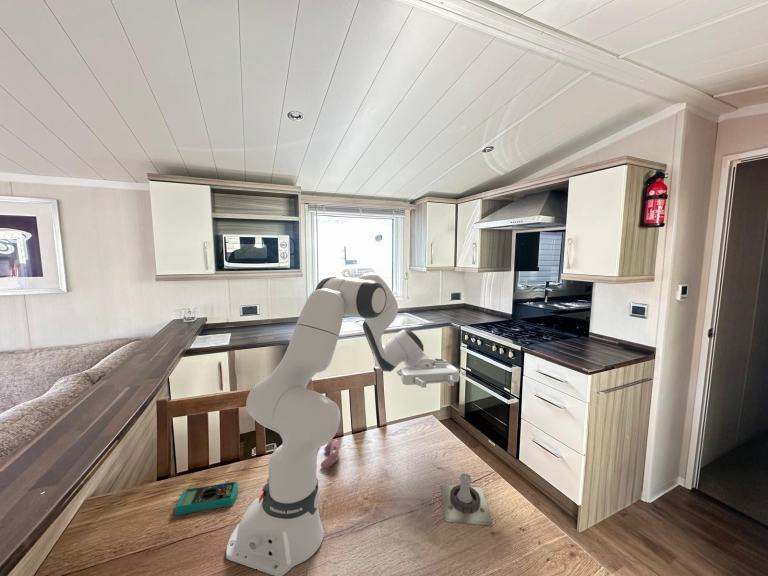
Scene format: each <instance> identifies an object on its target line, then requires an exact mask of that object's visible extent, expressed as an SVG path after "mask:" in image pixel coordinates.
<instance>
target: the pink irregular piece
mask: <svg viewBox="0 0 768 576" xmlns="http://www.w3.org/2000/svg"><path fill="white" fill-rule="evenodd" d="M340 446H341V440H339V439H332V441H330V442H329V443H327V444H326V446H325V447H324V452H325V453H329V455H328V456H327V458H325V459H324V460H322V462H321V463H320V467H321V469H327V468H330V466H332V465H333V464H335V463H336V461H337V460H338V461H339V458H340V455H339V449H340Z"/></svg>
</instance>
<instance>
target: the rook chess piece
mask: <svg viewBox="0 0 768 576" xmlns="http://www.w3.org/2000/svg"><path fill="white" fill-rule="evenodd" d="M459 480H460V482H459V483H460V484H459V485H461V487H460V491H459V492H458V494H457V498H456V499H457V500H458V501H460V502H462V503H464V504H472V496H471V494H470V487H471V483H472V478H471V475H470V474H469V473H467V472H466V473H465V472H462V473H461V475H460V476H459Z"/></svg>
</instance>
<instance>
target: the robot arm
mask: <svg viewBox="0 0 768 576" xmlns="http://www.w3.org/2000/svg"><path fill="white" fill-rule="evenodd" d="M398 311H399V304H398V301H397V299H396V297H395V295H394V293H393V292H392V290H391V288H390V287H389V285H388V283H387V282H386V281H385V280H384V279H383V278H382V277H381V276H379V275H378V274H377V273H374V272H367V273H363V274H362V275H360V276H358V278H355V277H349V276H347V277H346V276H343V277H341V276H340V277H336V276H331V277H326V278H323V279H322V280H320V281H319V283H318V284H317V285H316V287H315V290H313V291H312V292H311V293H310V295H309V296H308V298H307V299H306V301H305V304H304V305H303V307H302V310H301V311H300V314H299V316H298V318H297V322H296V324H295V327H294V330H293V333H292V336H291V338H290V341H289V343H288V345H287V349H286V351H285V353H284V354H283V357H282V359H281V360H280V362H279V363H278V365H277V366H276V368H275V369H274V370H273V371H272V372H271V373H270V374H269V375H268V376H266V378H264V379H262V380H261V381H259V382H257V383H256V384H255V385H254V386H253V387H252V388H251V389H250V391H249V393H248V395H247V397H246V401H245V402H246V403H245V407H246V411H247V413H248V414H249V416H251V418H253V420H255V422H257V423H258V424H259V425H261V426H262V427H265V428H267V429H269V430H270V431H271V430H272V431H274V432H275V433H276V434H279V436H280V438H281V440H282V444H280V445H279V446H278V447H277V448H275V450H274V451H273V452H272V453H271V455H270V457H269V460H268V464H267V466H268V477H267V479H266V482H267V483H266V484H265V485H264V486H263V487H262V490H261V493H260V494H259V496H258V497H257V498H256V499H254V500H253V501H252V503H250V505H249V506H248V508H247V509H246V510H245V511H244V513H243V515H242V517H241V519H240V522H238V524H237V525H236V526H235V528H234V530H233V532H231V535H230V538H229V539H228V542H227V545H226V552H225V557H226V559H227V560H229V561H231V562H234V563H237V564H240V565H243V566H245V567H248V568H251V569H254V570H256V569H257V571H259V572H263V573H266V574H268V575H270V576H271V575H272V576H273V575H274V576H284V575H285V574H288V572H289V571H290V570H291V569H292V568H294V567H295V566H297V565H299V564H301V563H303V562H305V561H308V560H309V559H310V558H311V557H312V556H313V555H314V554H315V553H316V552H317V550H318V549H319V548H320V546H321V545H322V543H323V539H324V536H325V535H324V530H325V529H324V527H323V524H322V521H321V517H320V512H319V500H320V493H319V492H320V490H319V481H318V477H317V469H318V468H317V467H318V466H317V465H318V464H317V463H318V453H319V452H320V449H321V447H323V446H325V445H326V446H327V445H328V444H329V443H330V442H332V441H331V440H333V438H334V437H335V436H336V434H337V432H338V430H339V428H340V424H341V411H340V408H339V406H338V404H337V403H336V402H335V401H333V400H331V399H330V398H329V397H327V396H326V395H324V394H322V393H320V392H317V391H315V390H311V389H309V388H307V386H308V385H309V383H310V381H311V379H312V378H313V377H314V376H315V375H316V374H318V373H321V372H324V371H326V370H327V369H328V368H329V367H330V365H331V364H332V360H333V357H334V353H335V350H336V346H337V343H338V340H339V336H340V334H341V331H342V329H341V328H342V324H343V320H344V318H345V317H349V318H362V319H364V320H363V323H362V329H363V332H364V335H365V338H366V340H367V343H368V345H369V347H370V350H371V353H372V356H373V360H374V363H375V364H376V366H377V367H378V369H380V370H381V371H382V372H389V373H391V372H392V371H393V370H394V369H396V368H397V367H398V366H399V365H400V364H401V363H403V364H404V367H402V368H401V369H399V370H397V371H396V373H397V375H398V376H400V380H401V383H402V384H403V385H404V386H414V385H416V386H418V387H421V388H423V389H424V388H427V384H428V385H430V384H444V383H447V385H448V386H449V387H451V386H454V385H455V383H458V382H459V381H460V371H459V368H456V367H455V366H454V365H452V364H451V363H448V361H447V359H444V358H436V357H431V356H428V355H427V354H425V353H424V350H425V349H424V344H423V342H422V340H421V339H420V338H419V336H417V334H416V333H414V332H413V331H411V329H406V328H405V329H404V328H402V330H400V331H399V332H397V333H396V334H394V335H393V336H391V338H390V339H388V340H387V341H385V342H383V343H382V341H381V338H382V336H383V335H384V333H385V331H386V330H387V329H388V328H389V327H390V325H392V324H393V322H394V321H395V319H396V317H397V315H398Z"/></svg>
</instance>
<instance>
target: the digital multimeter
mask: <svg viewBox="0 0 768 576" xmlns="http://www.w3.org/2000/svg"><path fill="white" fill-rule="evenodd" d="M238 485H239V483H238V481H230V482H225V483H218V484H211V485H206V486H200V487H192V488H186V489H184V490H183V491H182V493H181V495H180V496H179V498H178V500H177V503H176V505H175V508H174V510H175V512H174V513H175V514H174V515H175V516H180V515H181V516H183V515H187V514H191V513H196V512H201V511H207V510H212V509H213V510H214V509H218V508H226V507H232V506H233V505H234V504H235V502H236V500H237V499H238V494H239V488H238V487H239V486H238Z"/></svg>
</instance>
